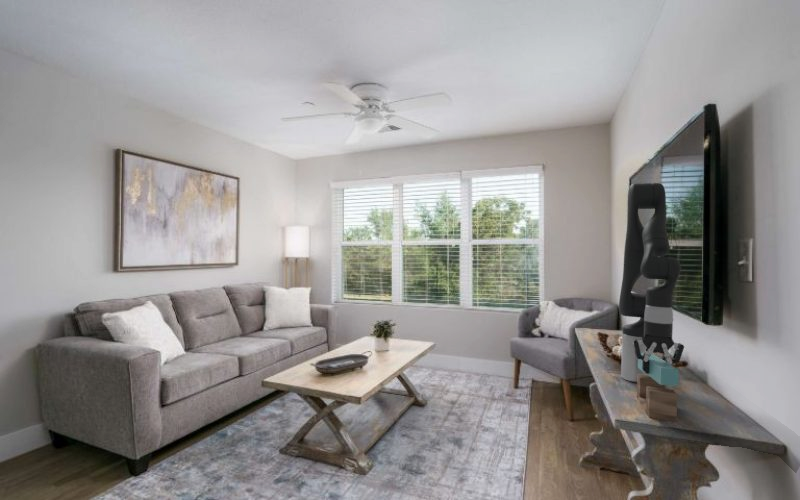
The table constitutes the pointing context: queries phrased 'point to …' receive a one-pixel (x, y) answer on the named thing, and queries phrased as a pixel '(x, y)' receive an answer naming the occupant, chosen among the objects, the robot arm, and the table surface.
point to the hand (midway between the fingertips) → (656, 373)
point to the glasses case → (661, 371)
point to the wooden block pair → (656, 398)
